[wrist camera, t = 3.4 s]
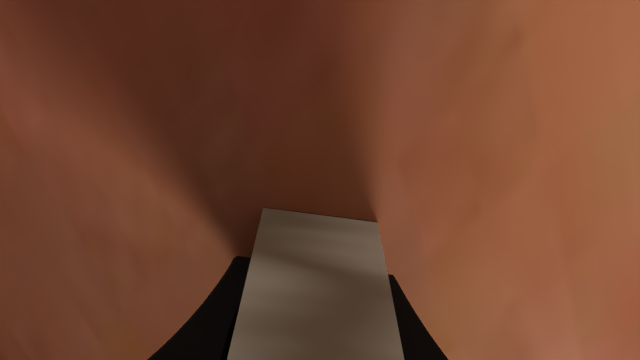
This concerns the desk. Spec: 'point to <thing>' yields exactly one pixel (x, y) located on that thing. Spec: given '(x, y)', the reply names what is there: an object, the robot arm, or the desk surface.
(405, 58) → the desk surface
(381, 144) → the desk surface
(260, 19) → the desk surface
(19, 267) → the desk surface
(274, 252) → the birch block
